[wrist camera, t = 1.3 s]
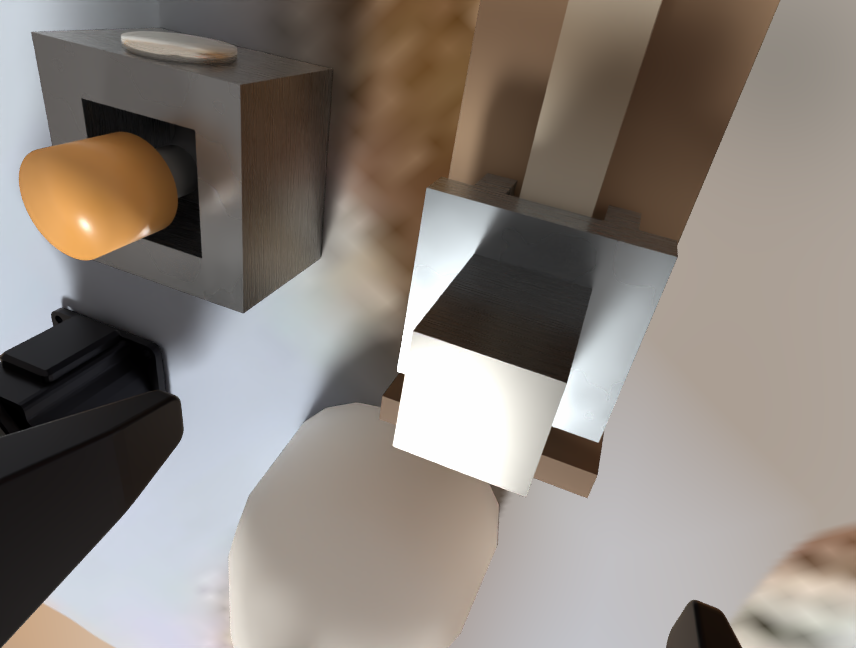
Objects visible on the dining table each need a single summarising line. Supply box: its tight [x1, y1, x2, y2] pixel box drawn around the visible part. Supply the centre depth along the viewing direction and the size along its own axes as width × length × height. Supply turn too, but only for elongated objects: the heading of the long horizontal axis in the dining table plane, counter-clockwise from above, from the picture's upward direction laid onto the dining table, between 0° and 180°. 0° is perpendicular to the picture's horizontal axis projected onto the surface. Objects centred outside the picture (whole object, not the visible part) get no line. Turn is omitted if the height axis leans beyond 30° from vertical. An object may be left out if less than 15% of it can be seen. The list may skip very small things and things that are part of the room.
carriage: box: [393, 173, 678, 497], centre depth 15 cm, size 6×6×7 cm
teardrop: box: [228, 402, 499, 648], centre depth 23 cm, size 11×11×12 cm
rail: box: [379, 0, 780, 498], centre depth 14 cm, size 22×7×5 cm, turn 170°
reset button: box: [19, 132, 198, 260], centre depth 17 cm, size 3×3×4 cm
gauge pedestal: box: [31, 28, 333, 313], centre depth 19 cm, size 7×7×5 cm
